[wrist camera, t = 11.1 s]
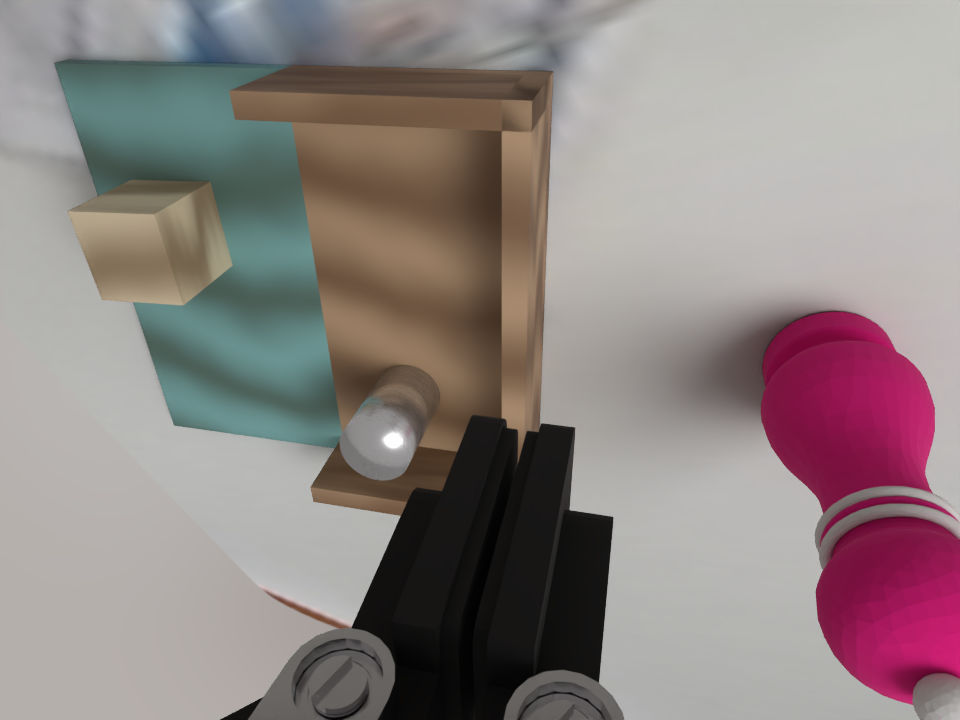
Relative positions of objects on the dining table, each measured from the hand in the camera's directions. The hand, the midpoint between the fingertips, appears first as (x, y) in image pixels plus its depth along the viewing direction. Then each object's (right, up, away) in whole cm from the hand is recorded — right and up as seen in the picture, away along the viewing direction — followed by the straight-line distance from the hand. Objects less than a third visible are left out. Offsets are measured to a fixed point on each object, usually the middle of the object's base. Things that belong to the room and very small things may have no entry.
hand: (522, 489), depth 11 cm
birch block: (-18, +10, +28) cm, 35 cm away
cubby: (-10, +7, +29) cm, 31 cm away
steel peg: (-5, 0, +31) cm, 31 cm away
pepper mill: (+18, +2, +25) cm, 30 cm away
